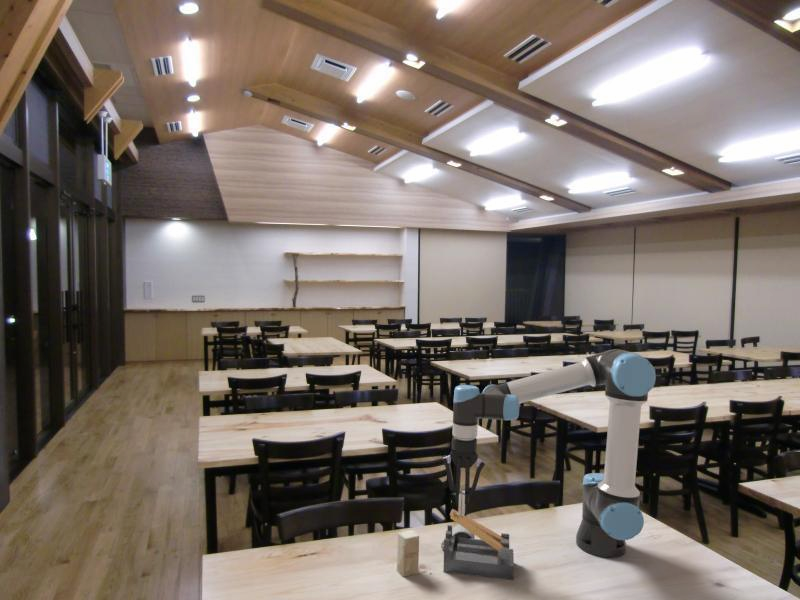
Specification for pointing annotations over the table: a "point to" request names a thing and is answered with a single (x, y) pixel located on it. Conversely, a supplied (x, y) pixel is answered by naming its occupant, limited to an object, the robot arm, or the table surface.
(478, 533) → the strap near
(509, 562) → the gray cradle frame
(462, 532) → the ceramic mug
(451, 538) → the lug bar
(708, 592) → the table surface
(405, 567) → the box
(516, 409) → the robot arm
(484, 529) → the orange long bar
